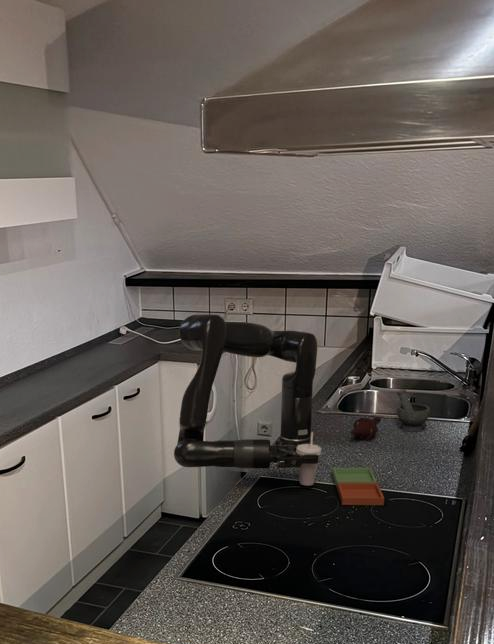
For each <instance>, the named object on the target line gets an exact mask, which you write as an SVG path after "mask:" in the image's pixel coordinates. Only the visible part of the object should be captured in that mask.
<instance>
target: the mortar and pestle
mask: <svg viewBox="0 0 494 644" xmlns="http://www.w3.org/2000/svg"><path fill="white" fill-rule="evenodd" d="M396 394H397V396H398V397H399V401H400V404H399V405H398V406H397V408H396V411H397V417H398V420H399V421H400V423H402V425H401V429H402V430H403V431H407V432H421V431H422V430H423V424H425V423H426V421H428V419H429V417H430V413H431V407H429V406H427V405H425V404H421V403H411V401H410V398H409V396H408V395H407V390H406V388H405V389H403V388H402V389H400V390H398V391H397V392H396Z"/></svg>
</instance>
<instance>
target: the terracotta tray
mask: <svg viewBox="0 0 494 644" xmlns="http://www.w3.org/2000/svg"><path fill="white" fill-rule="evenodd" d="M380 487H381V486H380V485H379V483H378V482H377V483H337V488H336V491H337V494H338V497H339V500H340V504H341V506H384V505H385V496H384V493H383V492H382V490H381V488H380Z"/></svg>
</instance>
